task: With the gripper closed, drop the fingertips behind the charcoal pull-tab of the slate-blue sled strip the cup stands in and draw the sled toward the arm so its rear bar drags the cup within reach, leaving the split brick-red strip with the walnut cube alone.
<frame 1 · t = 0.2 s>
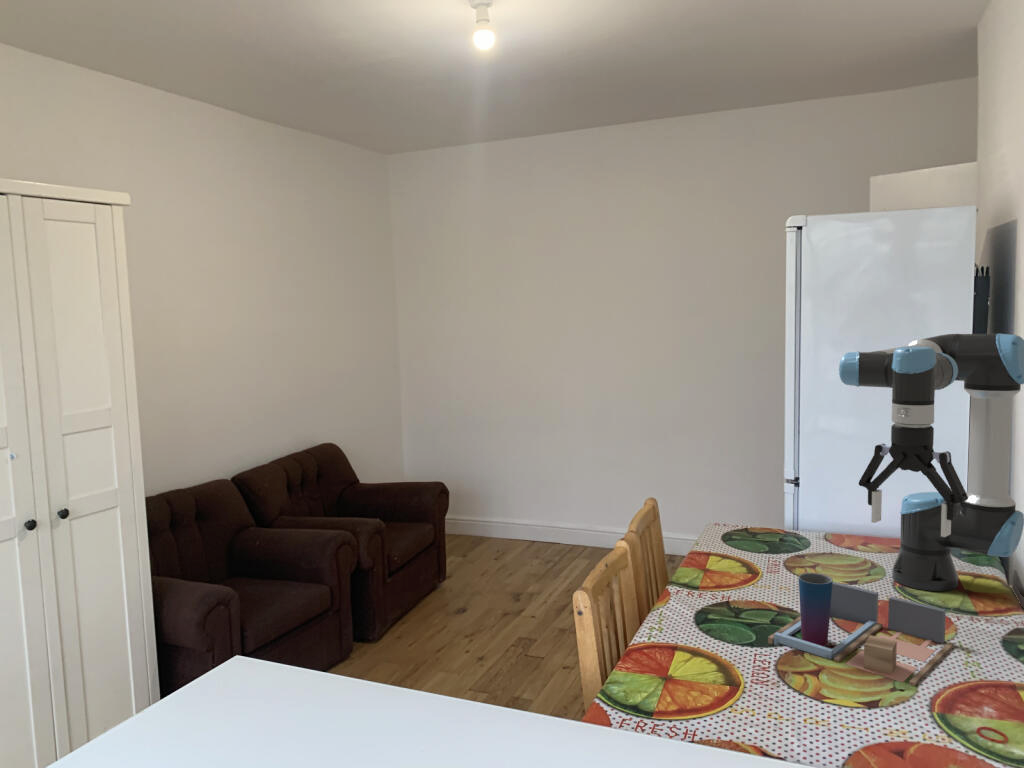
hand: (909, 528, 154), 28 cm above the table, fingers open, 13 cm apart
sled: (827, 618, 168), point 4 cm above the table, slide at 0.0 cm
walnut cube: (880, 666, 152), point 1 cm above the table, touching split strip
lane guides: (859, 647, 163), on the table
cup: (814, 646, 164), resting in sled
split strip: (891, 661, 156), on the table
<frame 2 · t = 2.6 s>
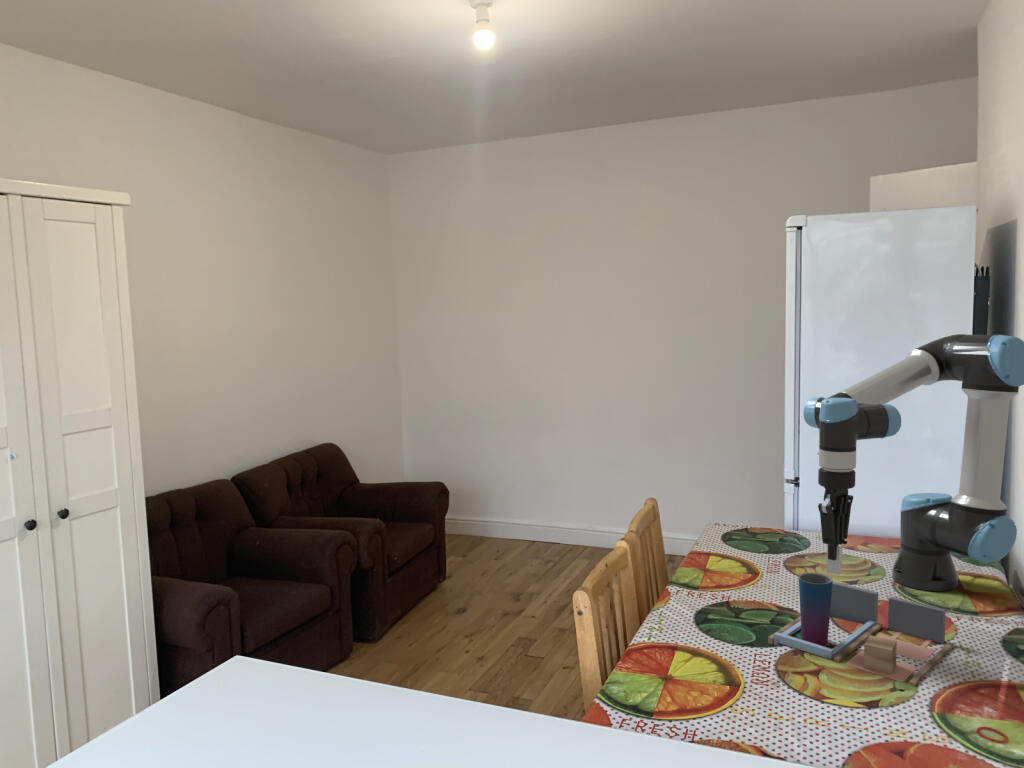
hand: (834, 572, 170), 14 cm above the table, fingers closed
nothing on the table moved.
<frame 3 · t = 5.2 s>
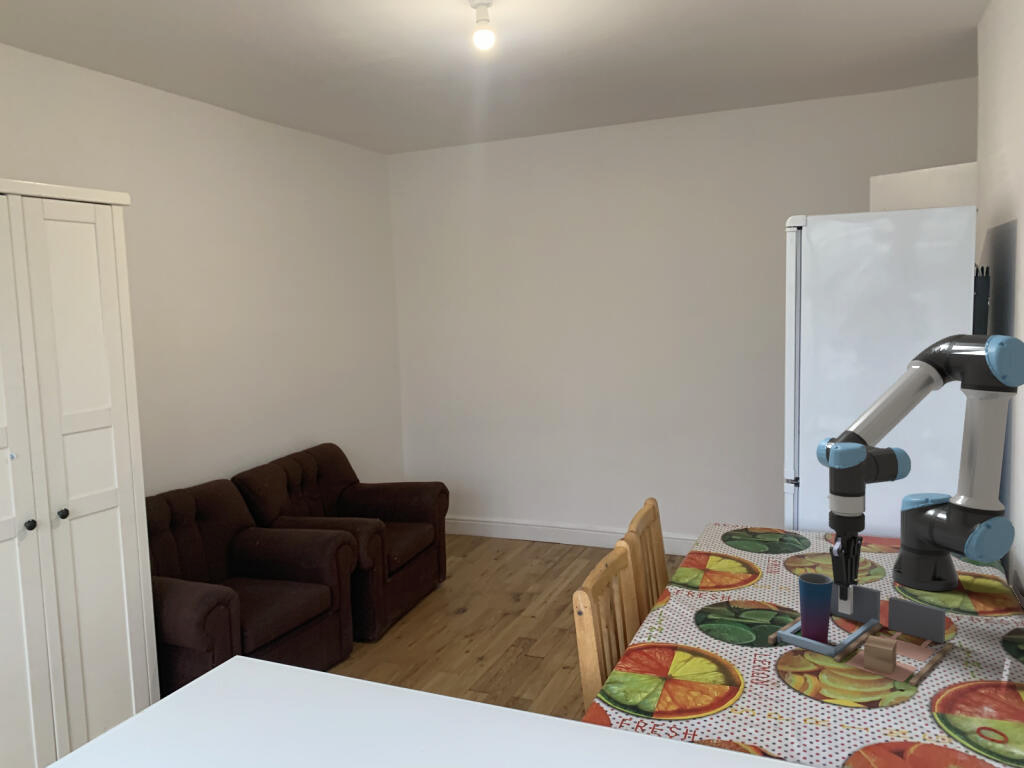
hand: (845, 612, 175), 3 cm above the table, fingers closed
sled: (829, 616, 169), point 4 cm above the table, slide at 1.4 cm, touching gripper
everything else where it was.
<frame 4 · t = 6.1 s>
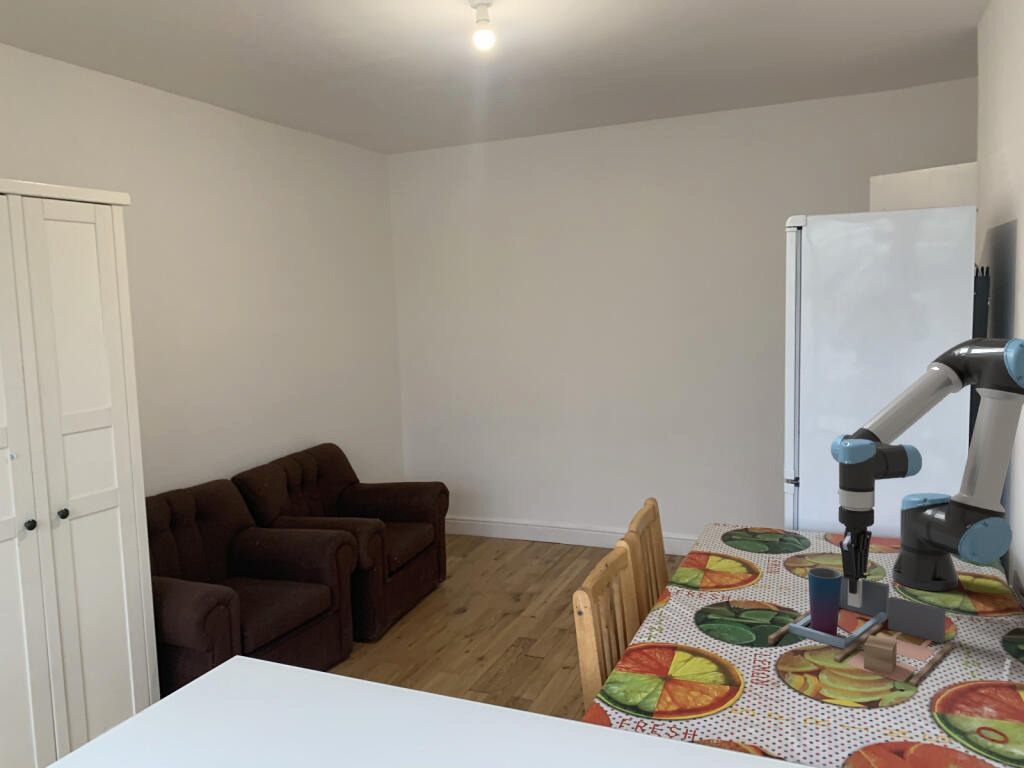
hand: (854, 605, 178), 3 cm above the table, fingers closed
sled: (839, 609, 173), point 4 cm above the table, slide at 6.5 cm, touching cup, gripper
cup: (823, 639, 168), resting in sled
everything else where it was.
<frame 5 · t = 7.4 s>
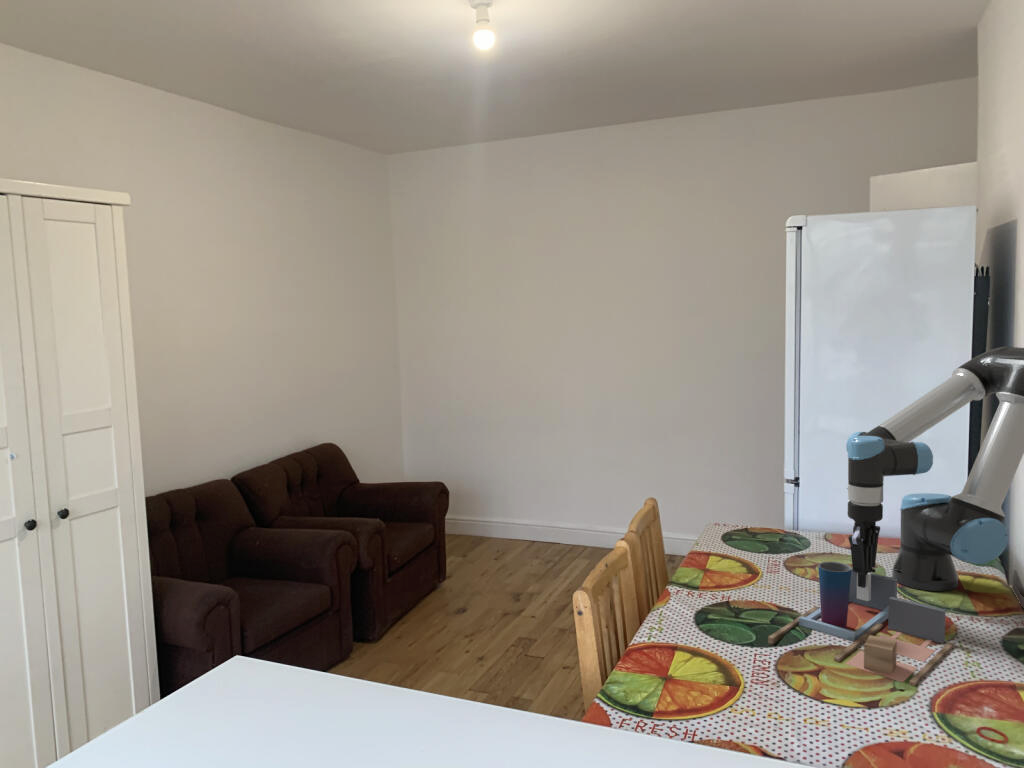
hand: (863, 598, 182), 3 cm above the table, fingers closed
sled: (848, 603, 176), point 4 cm above the table, slide at 11.5 cm, touching cup, gripper
cup: (833, 632, 171), resting in sled
everything else where it was.
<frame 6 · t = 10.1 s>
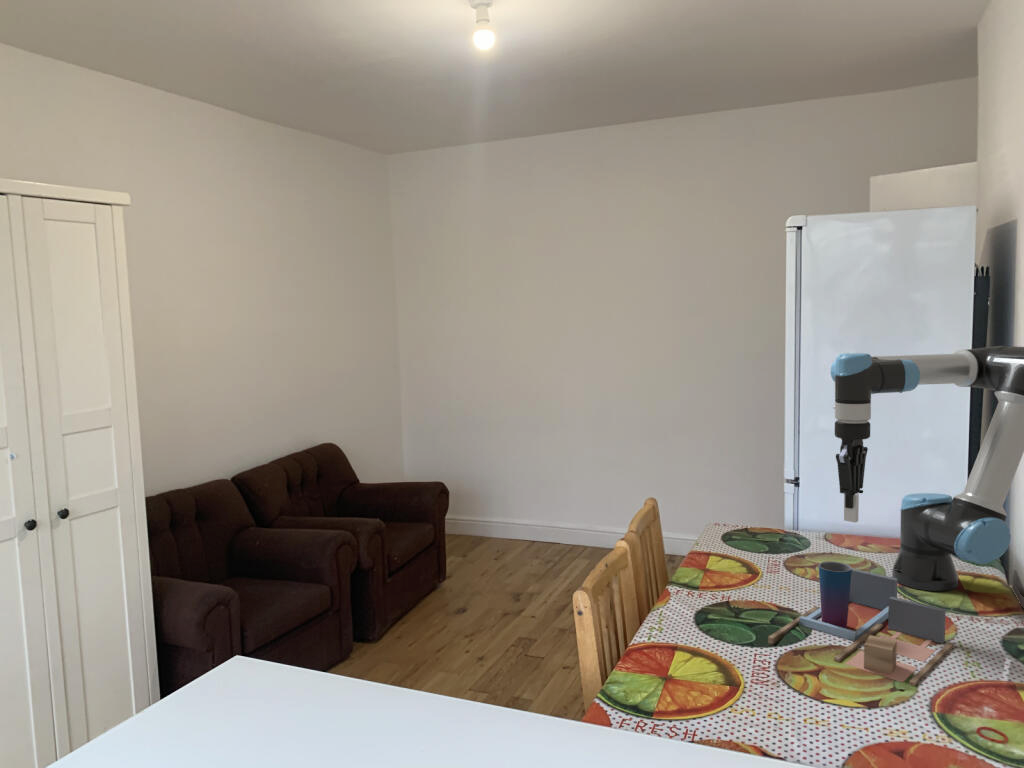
hand: (851, 520, 177), 23 cm above the table, fingers closed
sled: (849, 602, 176), point 4 cm above the table, slide at 11.7 cm
cup: (834, 631, 171), resting in sled
everything else where it was.
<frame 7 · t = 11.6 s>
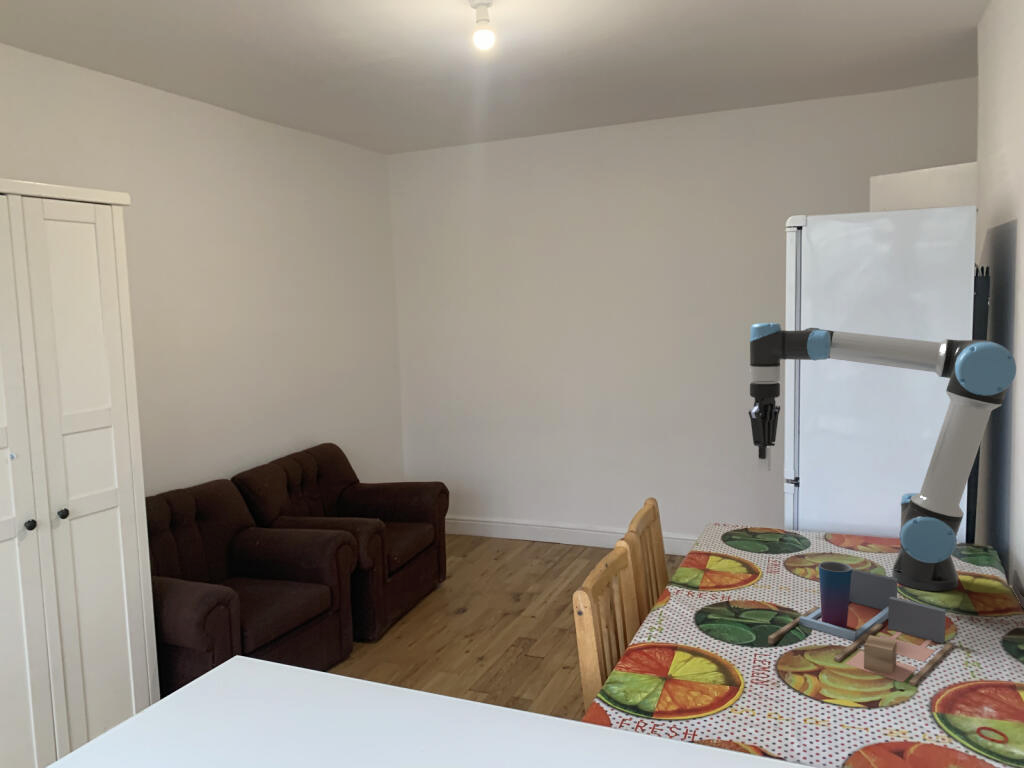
hand: (764, 470, 202), 29 cm above the table, fingers closed
nothing on the table moved.
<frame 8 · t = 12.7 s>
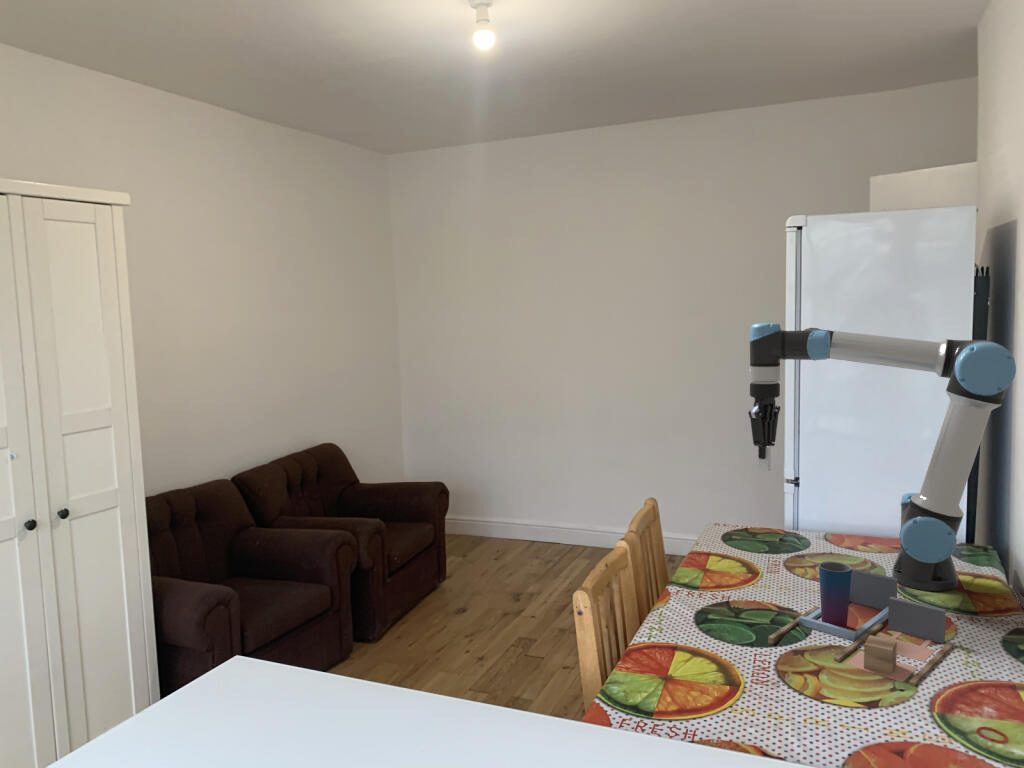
hand: (764, 470, 202), 29 cm above the table, fingers closed
nothing on the table moved.
at the end: sled slide at 11.7 cm; cup moved 9.9 cm from its start; cup tilted 0° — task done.
